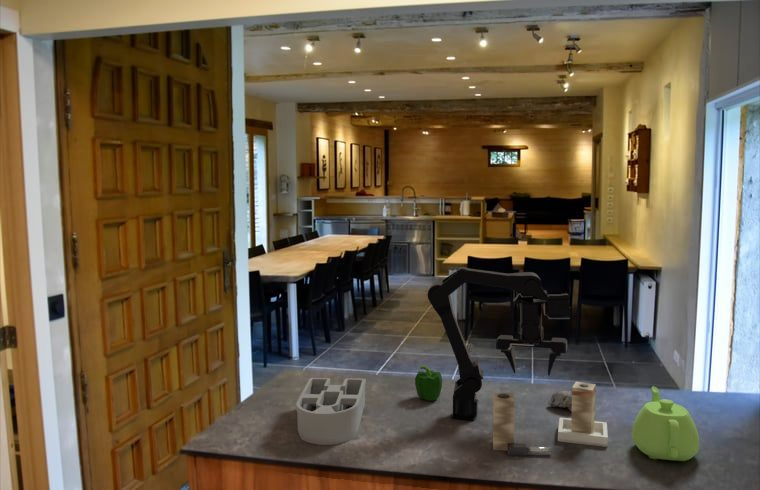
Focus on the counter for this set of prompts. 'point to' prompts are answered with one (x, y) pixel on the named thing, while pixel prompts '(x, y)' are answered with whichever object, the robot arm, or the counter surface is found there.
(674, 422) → the teapot
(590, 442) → the tray
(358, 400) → the grey compartment organizer
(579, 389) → the block
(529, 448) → the pin gauge
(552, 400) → the mineral specimen
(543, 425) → the counter surface
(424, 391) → the bell pepper
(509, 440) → the block
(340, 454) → the counter surface
